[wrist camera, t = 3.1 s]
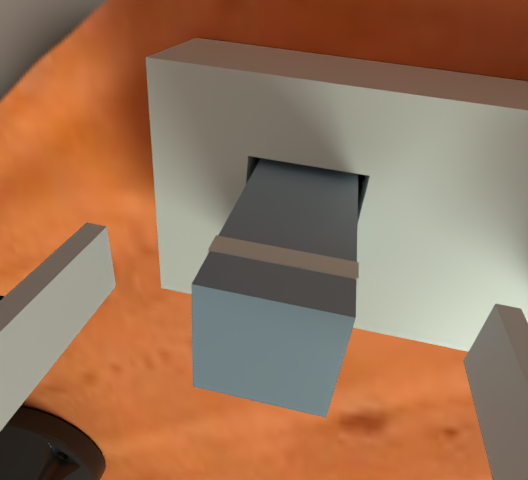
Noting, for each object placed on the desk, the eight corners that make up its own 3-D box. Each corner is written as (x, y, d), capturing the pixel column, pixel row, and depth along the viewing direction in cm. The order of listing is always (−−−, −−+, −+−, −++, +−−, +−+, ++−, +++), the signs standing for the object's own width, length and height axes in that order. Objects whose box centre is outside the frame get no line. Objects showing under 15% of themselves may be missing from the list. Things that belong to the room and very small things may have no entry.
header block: (196, 232, 28) (161, 287, 23) (196, 37, 21) (145, 57, 16) (642, 316, 25) (713, 402, 20) (809, 118, 18) (981, 173, 13)
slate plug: (270, 196, 25) (191, 387, 13) (278, 124, 22) (189, 282, 11) (343, 209, 24) (327, 418, 13) (360, 136, 22) (358, 316, 10)
